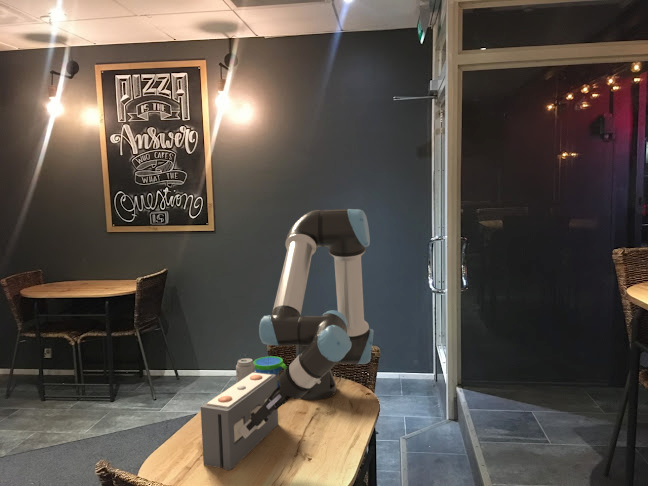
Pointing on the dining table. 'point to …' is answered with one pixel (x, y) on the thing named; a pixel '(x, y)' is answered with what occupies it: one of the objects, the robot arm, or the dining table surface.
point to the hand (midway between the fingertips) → (243, 433)
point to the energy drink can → (244, 368)
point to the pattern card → (239, 390)
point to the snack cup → (270, 366)
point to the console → (221, 427)
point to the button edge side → (236, 428)
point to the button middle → (255, 412)
